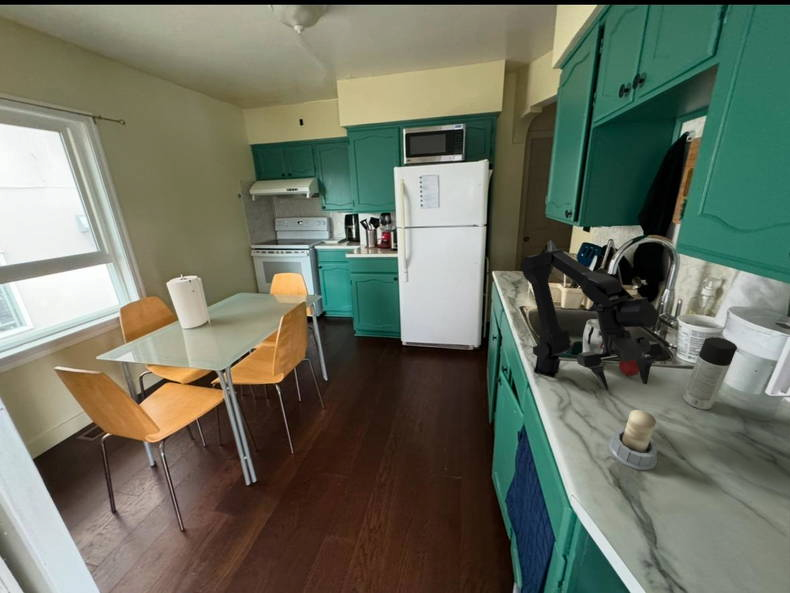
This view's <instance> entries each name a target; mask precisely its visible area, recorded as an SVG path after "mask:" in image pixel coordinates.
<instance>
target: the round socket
mask: <svg viewBox="0 0 790 593" xmlns="http://www.w3.org/2000/svg"><path fill="white" fill-rule="evenodd" d="M625 429H626V427H625V428H622V427H621V428H618V429H617V430H616V431H615V432H614V434H613V436H612V437H611V438H610V439H609V440H608V445H607V446H608V450H609V452H610V454H611V455H612V457H614V459H616V461H618V462H619V463H621V464H622V465H624V466H627V467H629V468H631V469H634V470H637V471H650V470H652V469H654V468H655V467H656V466H657V462H658V457H657V454H658V446H657V444H656V443H655V441H654V440H653V439H652V437H651V438H650V441H649V444H648V446H647V449H646V452H645V453H638V452H635V451H632V450H630V449H629V448H627V447H626V446H624V445H623V444H622V442H621V441H622V438H623V435H624V432H625Z"/></svg>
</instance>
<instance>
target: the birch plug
mask: <svg viewBox="0 0 790 593" xmlns="http://www.w3.org/2000/svg"><path fill="white" fill-rule="evenodd" d="M656 424H657V420H656V418H655V417H654V416H653V415H652V414H651V413H648V412H646V411H644V410H640V409H634V410H631V411H630V412H629V416H628V420H627V423H626V426H625V428H626V429H625V432H624V435H623V438H622V441H621V442H622V444H623V445H624V446H626V447H627V448H629V449H630V450H632V451H635V452H638V453H645V452H646V449H647V446H648V444H649V441H650V438H651V439H652V435H653V432H654V429H655V427H656Z"/></svg>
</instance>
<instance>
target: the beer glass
mask: <svg viewBox="0 0 790 593" xmlns="http://www.w3.org/2000/svg"><path fill="white" fill-rule="evenodd" d="M584 326H585V327H584V330H583V335H582V352H581V353H583V352H589V351H593V352H595V353H598V354H599V353H603V352H604V351H603V349H602V347H604V345H603V341H602V336H600V335H599V332H600V327H599V323H598V318H596V319H594V318H591V319H588V320H587V321H586V324H585V325H584Z"/></svg>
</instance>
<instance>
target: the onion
mask: <svg viewBox="0 0 790 593" xmlns="http://www.w3.org/2000/svg"><path fill="white" fill-rule="evenodd" d="M618 367H619V370H620V371H621V373H622V374H624V375H625V376H626V377H629V376H630V377H631V376H637V375H638V374H640V372H639V368H638V364H637V360H630V361H628V362H624V361H621V360H620V359H619V363H618Z"/></svg>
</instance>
